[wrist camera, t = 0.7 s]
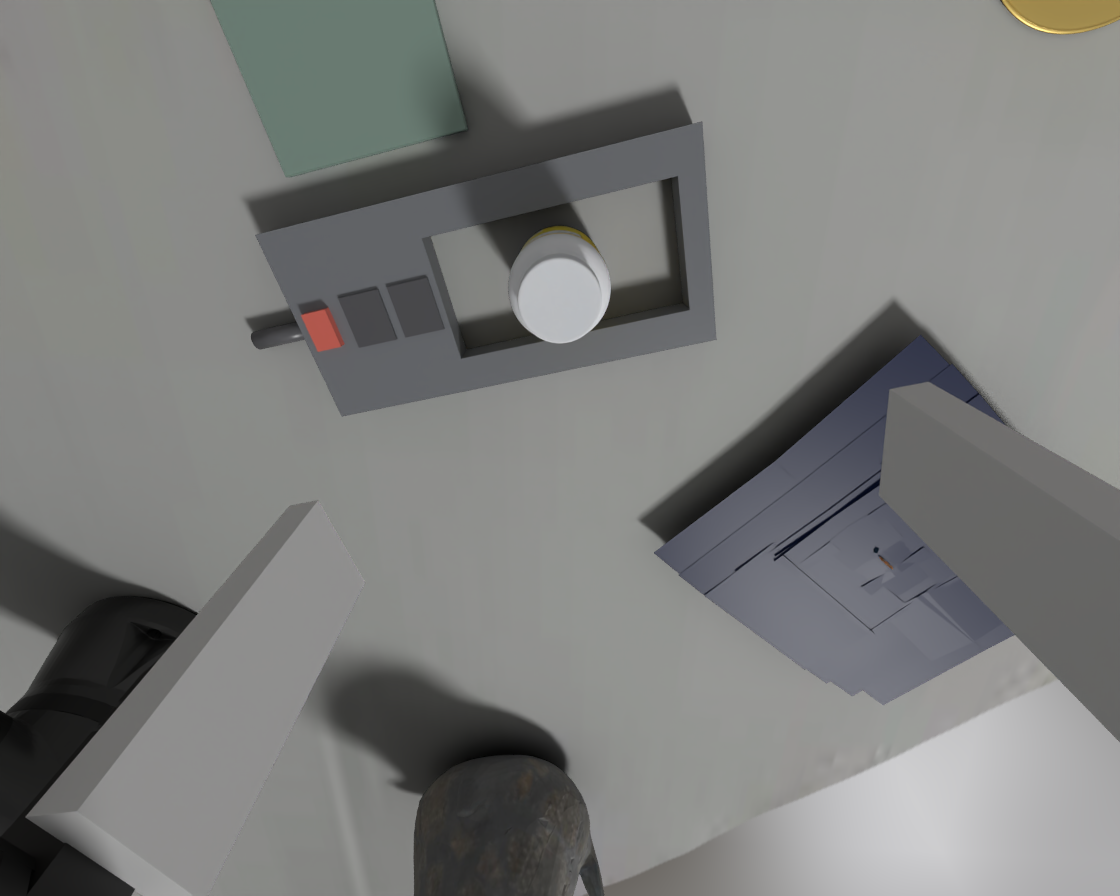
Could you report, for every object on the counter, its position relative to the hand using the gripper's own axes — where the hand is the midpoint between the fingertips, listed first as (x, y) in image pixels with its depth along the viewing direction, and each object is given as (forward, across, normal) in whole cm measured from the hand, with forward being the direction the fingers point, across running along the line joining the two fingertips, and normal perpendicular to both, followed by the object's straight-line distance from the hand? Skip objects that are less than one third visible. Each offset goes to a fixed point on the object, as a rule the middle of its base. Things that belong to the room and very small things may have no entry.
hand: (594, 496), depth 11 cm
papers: (+24, +20, -26) cm, 41 cm away
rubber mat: (+23, -10, +16) cm, 30 cm away
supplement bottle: (+24, -1, +2) cm, 24 cm away
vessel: (+23, -22, -55) cm, 64 cm away
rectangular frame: (+23, -5, +2) cm, 24 cm away
